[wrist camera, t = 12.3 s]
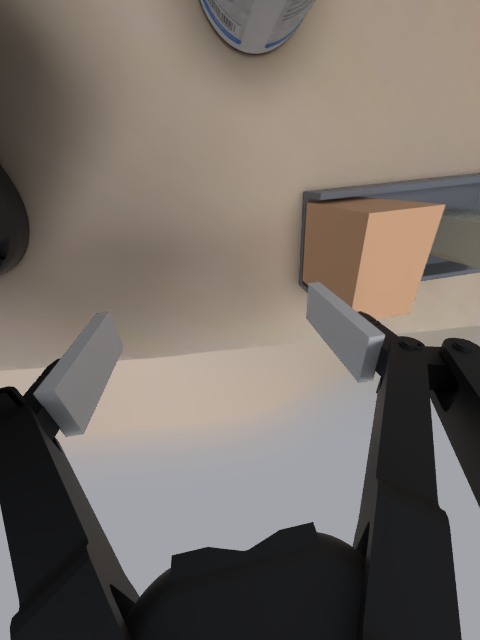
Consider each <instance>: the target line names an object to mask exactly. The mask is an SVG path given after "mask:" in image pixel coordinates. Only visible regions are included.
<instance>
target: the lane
mask: <svg viewBox="0 0 480 640" xmlns="http://www.w3.org/2000/svg"><path fill="white" fill-rule="evenodd" d="M350 197H367V198H378V199H390V200H401V201H413V202H424V203H435V204H446V205H445V208H444V210H446V209H455V208H458V209H471V210H480V173H475V174H466V175H457V176H447V177H438V178H428V179H419V180H409V181H400V182H390V183H381V184H372V185H362V186H353V187H343V188H334V189H324V190H315V191H305V192H303V212H302V233H301V253H300V274H299V285H300V286H301V287H302V288H303V289H304V290H305V291H306V292H307V293H308V285H307V284H306V283H305V282H304V281H302V280H303V262H304V244H305V227H306V209H307V202H314V201H323V200H332V199H341V198H350ZM479 272H480V269H478V268H474V267H471V266H467V265H464V264H460V263H456V262H453V261H449V260H446V259H442V258H439V257H435V256H431V255H429V257H428V260H427V263H426V266H425V269H424V272H423V275H422V278H421V281H426V280H432V279H439V278H446V277H452V276H459V275H465V274H472V273H479Z"/></svg>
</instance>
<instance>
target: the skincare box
mask: <svg viewBox="0 0 480 640" xmlns="http://www.w3.org/2000/svg"><path fill="white" fill-rule="evenodd" d="M429 255H431V256H435V257H439V258H442V259H446V260H449V261H453V262H456V263H460V264H464V265H467V266H471V267H474V268H478V269H480V210H471V209H458V208H455V209H446V210H444V211H443V214H442V217H441V220H440V223H439V226H438V229H437V232H436V235H435V238H434V241H433V244H432V247H431V251H430V254H429Z"/></svg>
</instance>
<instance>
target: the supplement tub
mask: <svg viewBox="0 0 480 640" xmlns="http://www.w3.org/2000/svg"><path fill="white" fill-rule="evenodd" d="M200 1H201V4H202V6H203V9H204V11H205V13H206V15H207V17H208V19H209V21H210V22H211V24H212V25H213V27H214V28H215V30H216V31H217V32H218V33H219V35H220V36H221V37H222V38H223V39H224V40H225V41H226V42H227V43H229V44H230V45H231V46H233V47H235V48H236V49H238V50H240V51H243V52H246V53H252V54H259V53H265V52H268V51H270V50H273V49H275V48H276V47H278V46H280V45H281V44H283V43H284V42H285V41H286V40H287V39H288V38H289V37H291V35H292V34H293V33H294V32H295V30H296V29H297V27H298V26H299V25H300V23H301V22H302V20H303V19H304V17H305V16H306V14H307V12H308V11H309V9H310V8H311V6H312V4H313V3H314V1H315V0H200Z"/></svg>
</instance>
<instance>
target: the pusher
mask: <svg viewBox="0 0 480 640" xmlns="http://www.w3.org/2000/svg"><path fill="white" fill-rule="evenodd" d="M445 205H446V204H435V203H424V202H413V201H401V200H390V199H378V198H367V197H350V198H341V199H332V200H323V201H314V202H307V209H306V227H305V244H304V262H303V280H302V281H304V282H305V283H306V284H307V285H308V284H309V283H315V282H320V283H321V284H323V285H324V286H325V287H326V288H328V289H329V290H330V291H331V292H333V293H334V294H335V295H336V296H338V297H339V298H340V299H341V300H343V301H344V302H345V303H346V304H348V305H349V306H350V307H351V308H353V309H354V310H355V311H356V312H359V311H362V312H364V313H366V314H369V315H371V316H372V317H373V318H375V319H379V318H386V317H392V316H398V315H404V314H410V311H411V308H412V305H413V302H414V299H415V296H416V293H417V290H418V287H419V284H420V281H421V278H422V275H423V272H424V269H425V266H426V263H427V260H428V257H429V254H430V251H431V247H432V244H433V241H434V238H435V235H436V232H437V229H438V226H439V223H440V220H441V217H442V214H443V211H444V208H445Z"/></svg>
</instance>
